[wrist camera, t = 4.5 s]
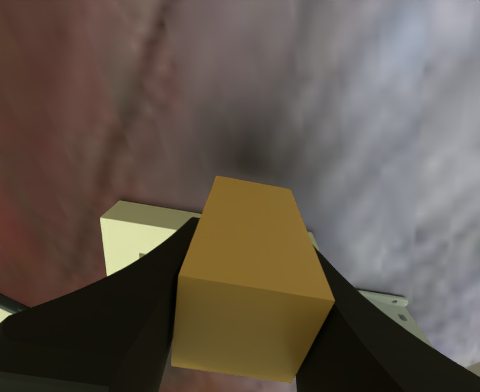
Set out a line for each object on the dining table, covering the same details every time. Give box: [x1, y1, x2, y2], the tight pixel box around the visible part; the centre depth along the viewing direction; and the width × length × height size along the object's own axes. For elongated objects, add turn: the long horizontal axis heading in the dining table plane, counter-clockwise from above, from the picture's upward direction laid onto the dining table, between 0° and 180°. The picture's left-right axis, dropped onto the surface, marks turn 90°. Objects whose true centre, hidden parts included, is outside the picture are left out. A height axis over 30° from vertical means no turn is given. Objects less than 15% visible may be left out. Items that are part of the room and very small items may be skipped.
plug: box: [171, 175, 335, 383], centre depth 10 cm, size 4×4×7 cm
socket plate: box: [100, 201, 320, 276], centre depth 22 cm, size 18×14×4 cm
